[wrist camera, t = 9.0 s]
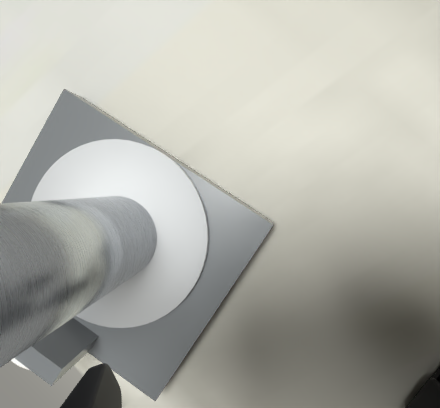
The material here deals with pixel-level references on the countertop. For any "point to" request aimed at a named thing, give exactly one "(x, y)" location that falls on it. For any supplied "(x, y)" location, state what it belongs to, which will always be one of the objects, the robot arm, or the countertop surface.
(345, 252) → the countertop surface
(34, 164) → the scale
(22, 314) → the metal canister
